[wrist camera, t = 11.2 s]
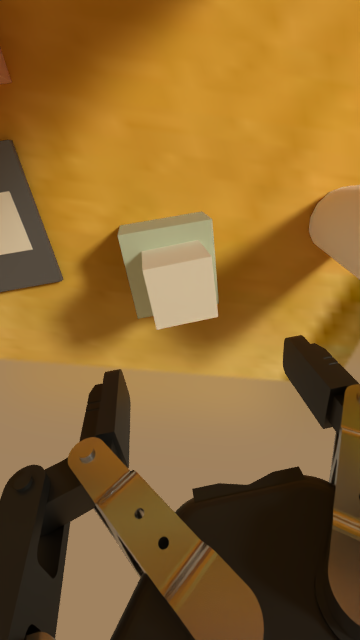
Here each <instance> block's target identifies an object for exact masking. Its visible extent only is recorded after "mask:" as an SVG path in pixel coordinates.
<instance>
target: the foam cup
mask: <svg viewBox="0 0 360 640" xmlns="http://www.w3.org/2000/svg"><path fill="white" fill-rule="evenodd" d="M309 233H310V236H311V239H312V241H313V243H314V244H315V245H316V246H318V247H319V248H320V249H321V250H323V251H324V252H325V253H327V254H328V255H329V256H330V257H332V258H333V259H334V260H336V261H337V262H338V263H339V264H341V265H342V266H343V267H344V268H346V269H347V270H348V271H350V272H351V273H352V274H353V275H355V276H356V277H357V278H359V279H360V185H356V186H347V187H342V188H339V189H336V190H334V191H331V192H329V193H328V194H327V195H326V196H325V197H324V198H323V199H322V200H321V201H319V202H318V203H317V205H316V207H315V209H314V211H313V213H312V215H311V217H310V224H309Z"/></svg>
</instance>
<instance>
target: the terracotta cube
mask: <svg viewBox="0 0 360 640" xmlns="http://www.w3.org/2000/svg"><path fill="white" fill-rule="evenodd" d="M6 83H12V81H11V78H10V75H9V72H8V69H7V66H6V63H5V60H4V57H3V54H2V51H1V48H0V84H6Z"/></svg>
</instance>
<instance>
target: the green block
mask: <svg viewBox="0 0 360 640" xmlns="http://www.w3.org/2000/svg"><path fill="white" fill-rule="evenodd" d="M117 236H118V240H119V244H120V248H121V252H122V256H123V260H124V264H125V268H126V272H127V276H128V280H129V284H130V288H131V292H132V296H133V301H134V305H135V309H136V313H137V317H138V319H139V318H145V317H150V316H153V312H152V308H151V304H150V299H149V295H148V291H147V287H146V283H145V279H144V275H143V270H142V251H145V250H150V249H155V248H160V247H165V246H170V245H175V244H180V243H185V242H190V241H195V240H199V241H200V242H201V244H202V245H203V246H204V247H205V249H206V250H207V251H208V252H209V254H210V255H211V256H212V264H213V273H214V282H215V291H216V300H217V304H219V300H218V288H217V275H216V262H215V250H214V237H213V224H212V219H211V218H210V217H209V216H207V215H206V214H205V213H203V212H197V213H191V214H185V215H179V216H173V217H168V218H162V219H156V220H150V221H144V222H138V223H133V224H127V225H121V226H120V228H119V232H118V235H117Z"/></svg>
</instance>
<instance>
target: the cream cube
mask: <svg viewBox="0 0 360 640" xmlns="http://www.w3.org/2000/svg"><path fill="white" fill-rule="evenodd" d="M142 270H143V275H144V279H145V283H146V287H147V291H148V295H149V299H150V304H151V308H152V312H153V316H154V320H155V324H156V328H157V330H158V329H163V328H168V327H172V326H177V325H182V324H187V323H191V322H196V321H201V320H206V319H210V318H215V317H218V309H217V300H216V291H215V282H214V273H213V264H212V256H211V255H210V254H209V252H208V251H207V250H206V249H205V247H204V246H203V245H202V244H201V242H200V241H199V240H195V241H190V242H185V243H180V244H175V245H170V246H165V247H160V248H155V249H150V250H145V251H142Z"/></svg>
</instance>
